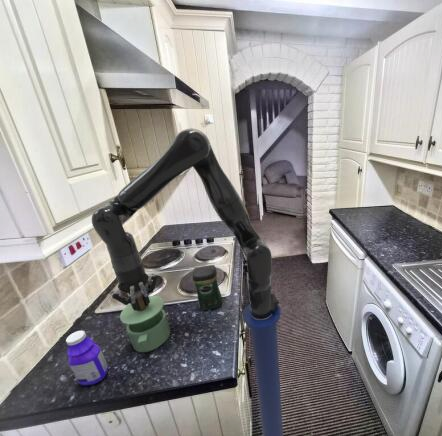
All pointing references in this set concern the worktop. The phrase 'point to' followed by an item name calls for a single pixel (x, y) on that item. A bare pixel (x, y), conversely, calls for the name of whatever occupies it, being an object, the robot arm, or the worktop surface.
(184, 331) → the worktop surface
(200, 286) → the coffee jar
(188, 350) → the worktop surface
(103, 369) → the bottle
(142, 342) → the pot
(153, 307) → the lid
